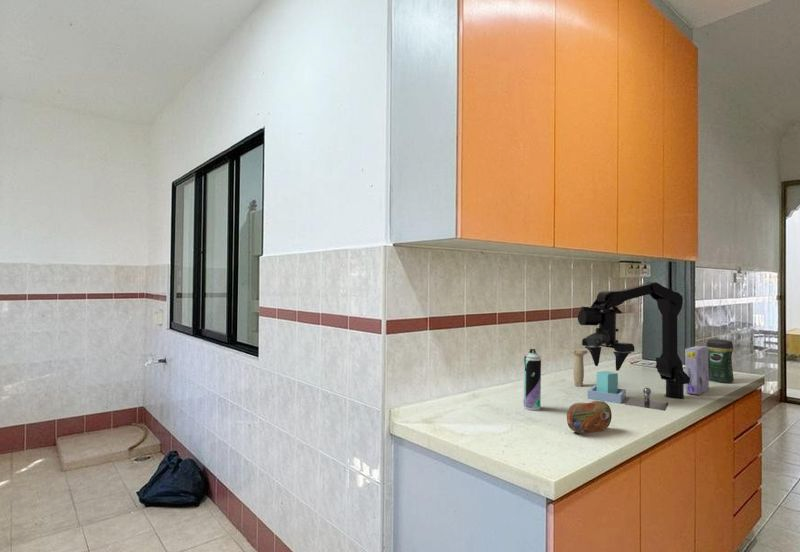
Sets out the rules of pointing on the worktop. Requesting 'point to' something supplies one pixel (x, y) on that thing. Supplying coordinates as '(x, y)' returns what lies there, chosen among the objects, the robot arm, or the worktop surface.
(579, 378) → the handle
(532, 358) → the spray can
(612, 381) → the turquoise rectangular block
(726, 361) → the coffee jar
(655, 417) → the worktop surface
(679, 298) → the robot arm
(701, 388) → the cake pan box
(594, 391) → the bin
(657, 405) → the ball stud
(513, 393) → the worktop surface
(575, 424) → the tin
